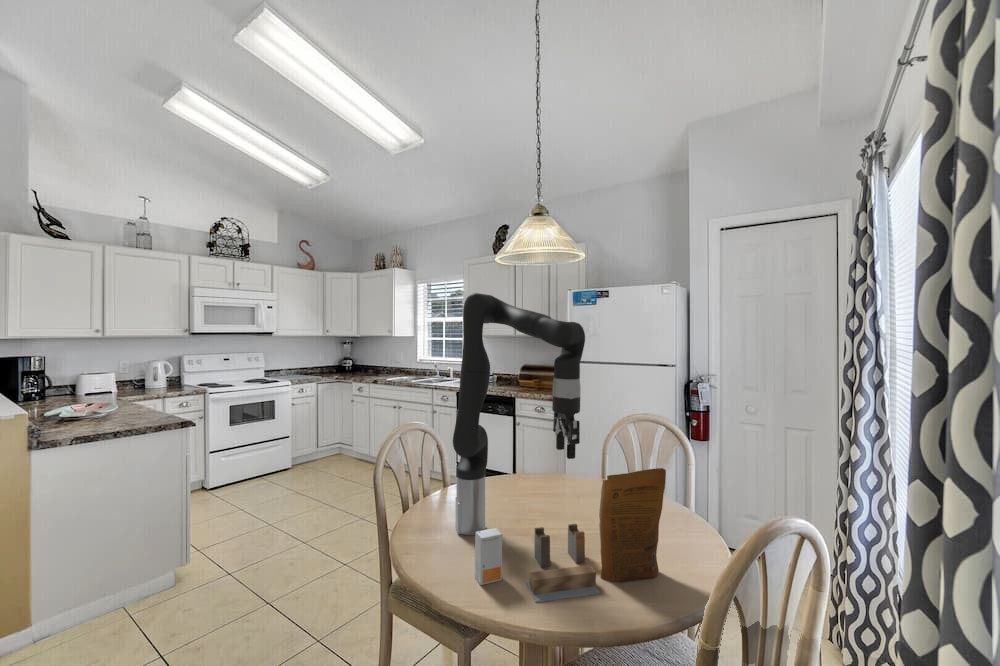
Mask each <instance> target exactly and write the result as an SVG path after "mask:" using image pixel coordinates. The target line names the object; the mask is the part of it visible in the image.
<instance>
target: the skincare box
mask: <svg viewBox="0 0 1000 666" xmlns="http://www.w3.org/2000/svg"><path fill="white" fill-rule="evenodd" d="M500 531H501V530H499V529H498V528H497V527H495V528H485V530H482V531H477V532H475V535H474V538H475V539H474V544H475V545H474V551H475V552H474V578H475V580H476V581H477V583H478V584H479V586H483V585H487V584H491V583H496V582H501V581H502V580H503V577H502V576H503V533H502V532H500Z"/></svg>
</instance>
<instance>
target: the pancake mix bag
mask: <svg viewBox="0 0 1000 666" xmlns="http://www.w3.org/2000/svg"><path fill="white" fill-rule="evenodd" d="M666 477H667V469H665V468H661V467H660V468H651V469H650V468H649V469H643V470H636V471H632V472H627V473H619V474H610V475H606V479H603V480H602V484H601V491H600V505H599V513H598V514H599V538H600V539H599V540H600V542H599V543H600V558H601V559H600V561H601V572H600V579H602V580H605V581H607V582H611V583H624V582H625V583H626V582H631V581H632V582H634V581H639V580H649V579H655V578H657V576H658V574H659V572H660V570H659V566H658V561H657V560H658V557H657V552H658V551H657V550H658V543H659V538H660V537H659V528H660V520H661V515H662V511H663V504H664V496H665V495H664V494H665V489H666V480H667V478H666Z"/></svg>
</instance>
